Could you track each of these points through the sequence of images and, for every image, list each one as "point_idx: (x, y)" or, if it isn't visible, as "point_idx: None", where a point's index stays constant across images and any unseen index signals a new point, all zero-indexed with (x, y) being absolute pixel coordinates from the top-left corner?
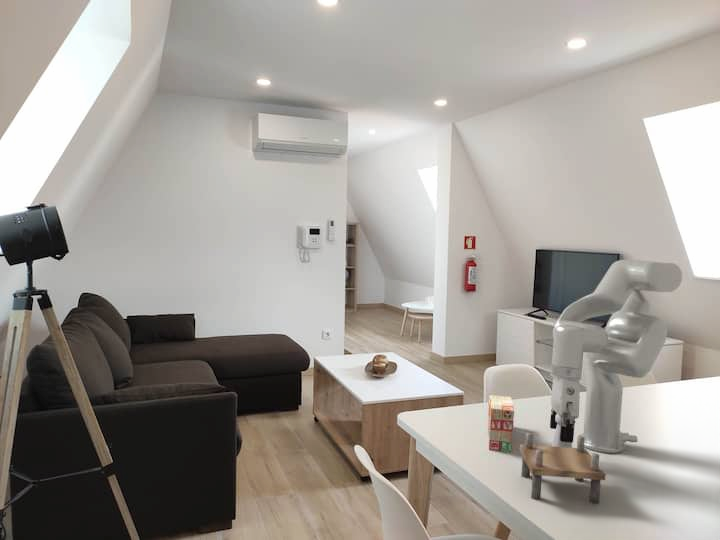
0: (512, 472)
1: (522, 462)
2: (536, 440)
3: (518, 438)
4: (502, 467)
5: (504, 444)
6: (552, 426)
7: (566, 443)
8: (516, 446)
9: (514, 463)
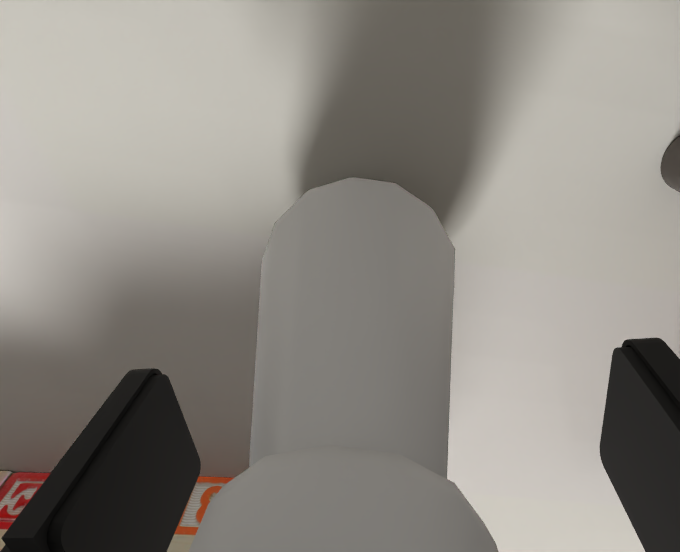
0: (588, 500)
1: None
2: (34, 346)
3: (70, 434)
4: (529, 529)
5: None
6: (191, 477)
7: (449, 320)
8: (208, 454)
9: (465, 483)
